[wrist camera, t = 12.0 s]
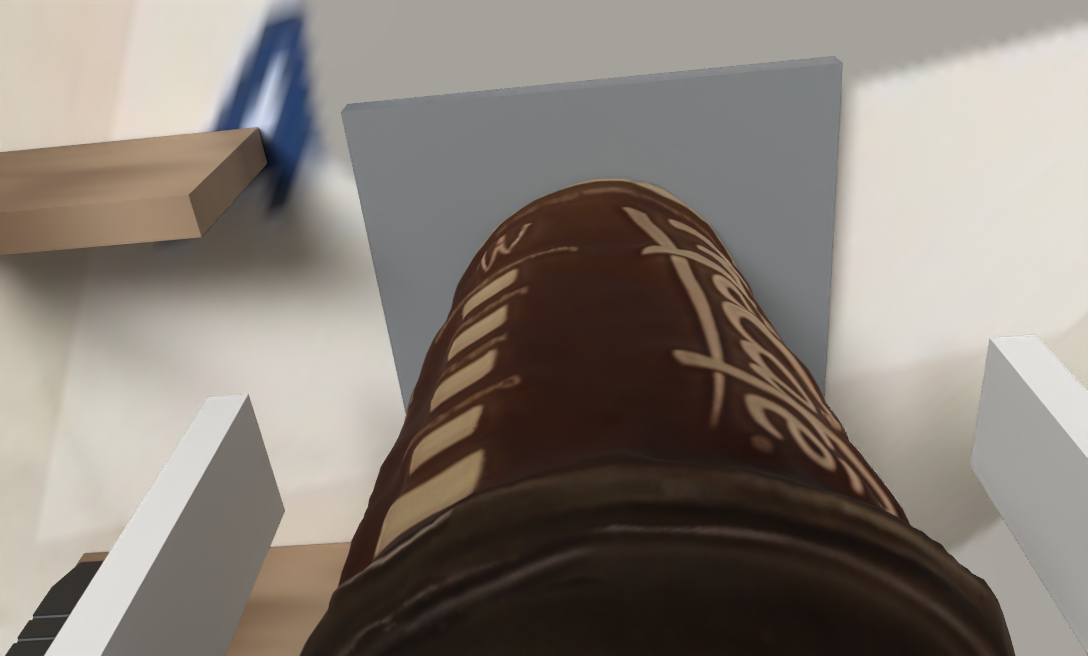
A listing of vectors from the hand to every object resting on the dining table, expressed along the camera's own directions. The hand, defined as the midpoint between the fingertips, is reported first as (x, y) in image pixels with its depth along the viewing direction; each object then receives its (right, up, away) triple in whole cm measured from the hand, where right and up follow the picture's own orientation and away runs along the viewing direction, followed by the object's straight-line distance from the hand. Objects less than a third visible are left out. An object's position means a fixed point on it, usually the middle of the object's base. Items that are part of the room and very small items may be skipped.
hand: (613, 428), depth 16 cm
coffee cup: (0, +2, +4) cm, 5 cm away
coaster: (0, +2, +5) cm, 5 cm away
